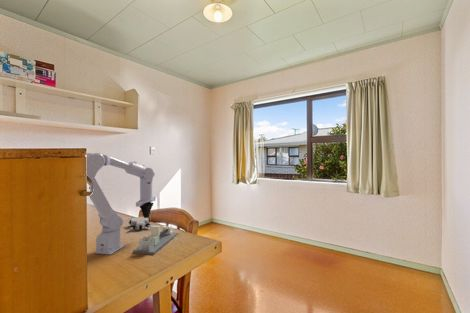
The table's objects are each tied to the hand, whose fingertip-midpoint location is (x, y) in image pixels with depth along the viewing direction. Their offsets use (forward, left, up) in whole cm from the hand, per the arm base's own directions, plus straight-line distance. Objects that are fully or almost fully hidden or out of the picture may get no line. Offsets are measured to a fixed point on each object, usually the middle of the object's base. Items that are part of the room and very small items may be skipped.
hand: (146, 217), depth 114 cm
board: (-5, -9, -10) cm, 15 cm away
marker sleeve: (-9, -9, -9) cm, 16 cm away
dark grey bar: (-5, -9, -8) cm, 13 cm away
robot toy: (+15, +13, -11) cm, 23 cm away
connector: (-14, -9, -9) cm, 19 cm away
